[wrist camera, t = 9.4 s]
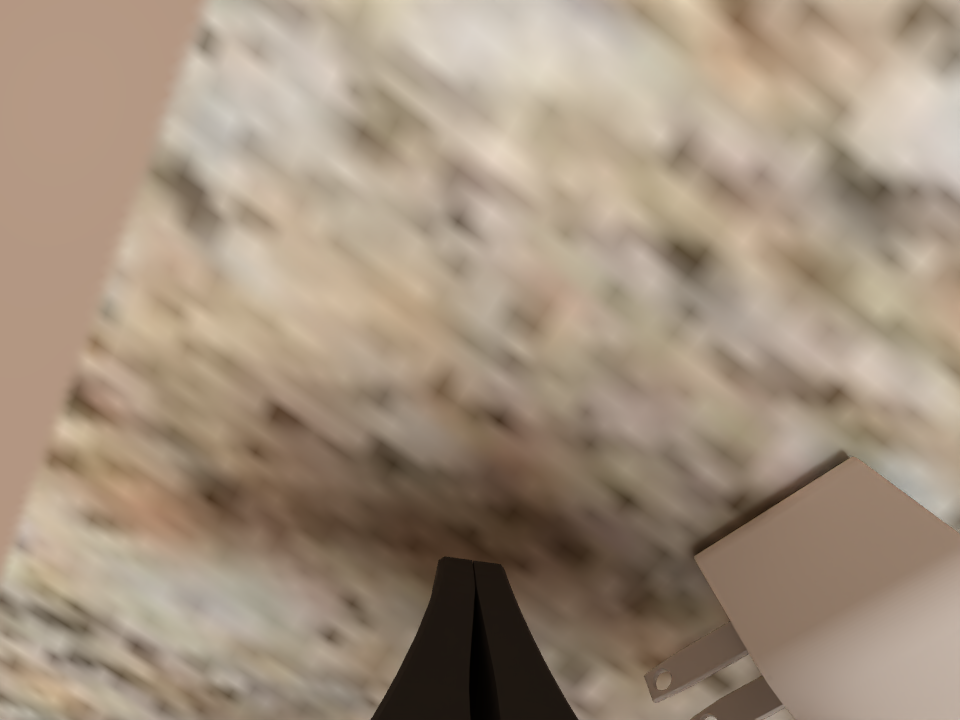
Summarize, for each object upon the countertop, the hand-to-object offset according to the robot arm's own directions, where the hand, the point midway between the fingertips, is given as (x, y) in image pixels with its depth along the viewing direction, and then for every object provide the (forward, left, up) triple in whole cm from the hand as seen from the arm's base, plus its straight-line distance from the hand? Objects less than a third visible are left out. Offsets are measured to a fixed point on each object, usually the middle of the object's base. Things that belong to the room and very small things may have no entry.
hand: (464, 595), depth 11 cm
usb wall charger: (0, -8, -2) cm, 8 cm away
